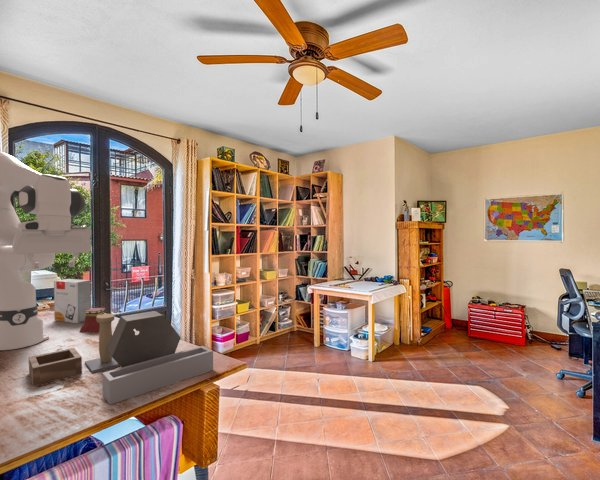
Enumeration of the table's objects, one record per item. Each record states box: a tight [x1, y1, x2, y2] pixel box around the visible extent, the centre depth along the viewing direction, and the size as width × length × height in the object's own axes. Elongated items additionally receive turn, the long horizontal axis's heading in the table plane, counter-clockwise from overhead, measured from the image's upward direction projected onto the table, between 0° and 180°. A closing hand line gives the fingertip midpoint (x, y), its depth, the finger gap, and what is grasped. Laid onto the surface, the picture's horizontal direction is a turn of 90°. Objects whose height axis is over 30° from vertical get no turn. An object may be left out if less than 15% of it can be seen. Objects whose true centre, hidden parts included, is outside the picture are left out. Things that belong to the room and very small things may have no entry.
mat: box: [84, 357, 121, 374], centre depth 105 cm, size 10×10×1 cm
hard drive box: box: [53, 278, 92, 324], centre depth 159 cm, size 16×8×20 cm, turn 73°
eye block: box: [28, 347, 83, 387], centre depth 98 cm, size 12×12×5 cm
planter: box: [106, 310, 181, 368], centre depth 99 cm, size 17×8×21 cm
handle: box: [96, 313, 116, 363], centre depth 105 cm, size 5×6×15 cm
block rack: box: [101, 345, 214, 405], centre depth 92 cm, size 7×29×6 cm, turn 135°
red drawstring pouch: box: [79, 307, 106, 333], centre depth 144 cm, size 9×9×9 cm
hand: (54, 267), depth 104 cm, fingers open, 8 cm apart
